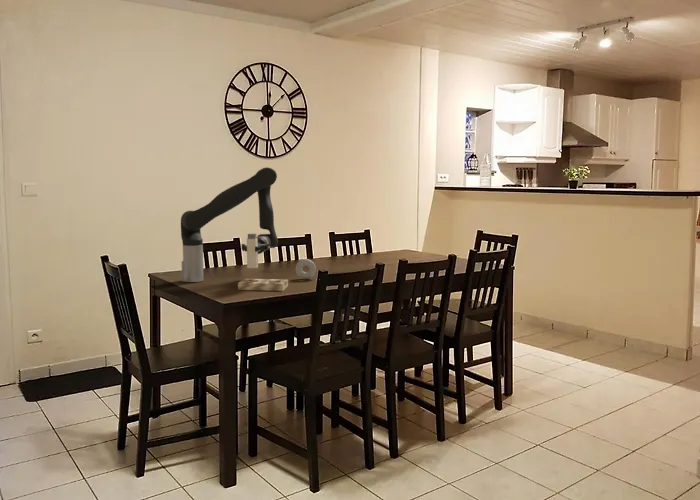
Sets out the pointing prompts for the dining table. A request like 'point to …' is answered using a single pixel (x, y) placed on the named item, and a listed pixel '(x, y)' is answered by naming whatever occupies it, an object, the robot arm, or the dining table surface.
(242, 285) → the socket board
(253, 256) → the plug
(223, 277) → the dining table surface
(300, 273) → the donut
